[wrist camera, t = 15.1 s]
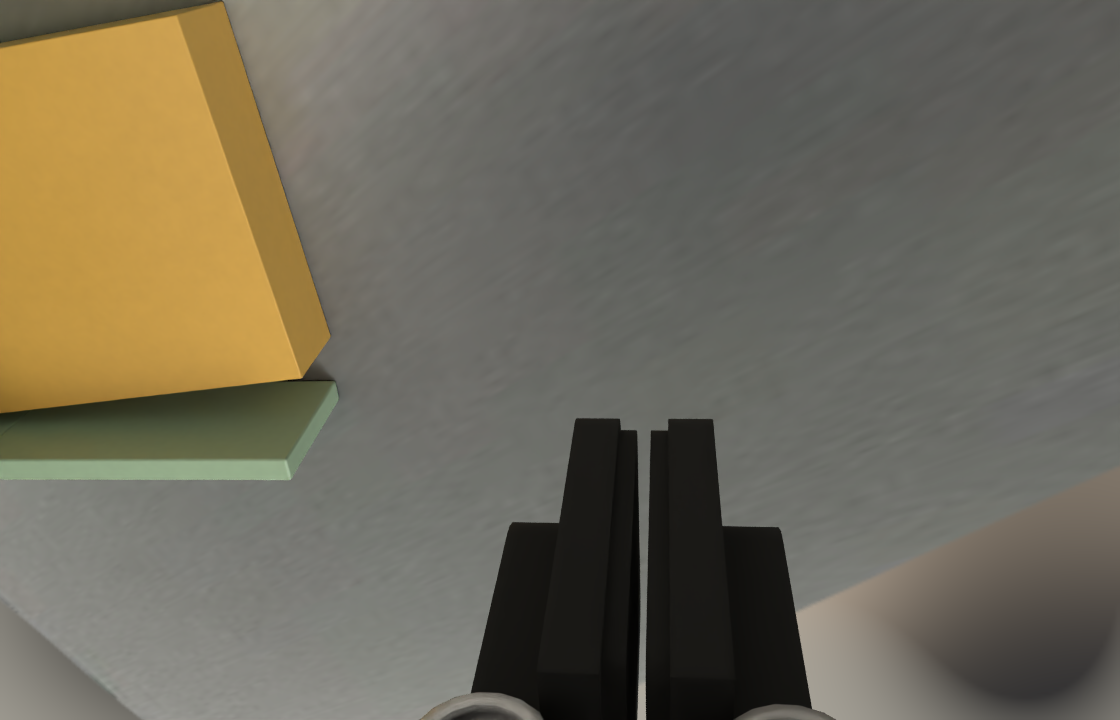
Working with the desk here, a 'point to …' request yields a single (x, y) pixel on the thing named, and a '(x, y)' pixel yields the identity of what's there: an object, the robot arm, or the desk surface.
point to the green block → (170, 435)
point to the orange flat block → (143, 219)
